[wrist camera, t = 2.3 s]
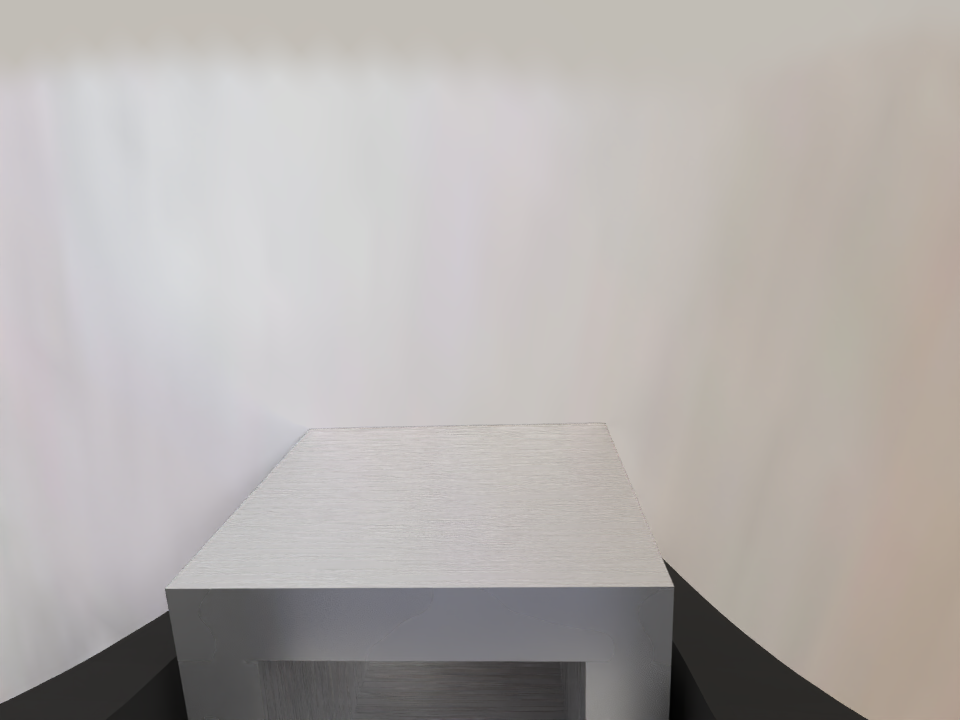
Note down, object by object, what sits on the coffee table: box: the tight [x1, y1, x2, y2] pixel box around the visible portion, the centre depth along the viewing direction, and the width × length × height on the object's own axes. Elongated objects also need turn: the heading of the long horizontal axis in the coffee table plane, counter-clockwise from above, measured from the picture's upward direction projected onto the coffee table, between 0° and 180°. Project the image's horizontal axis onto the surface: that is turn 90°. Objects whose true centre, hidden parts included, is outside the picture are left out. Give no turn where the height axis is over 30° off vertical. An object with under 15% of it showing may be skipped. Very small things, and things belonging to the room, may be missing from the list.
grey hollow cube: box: [165, 423, 674, 720], centre depth 10 cm, size 5×5×5 cm
